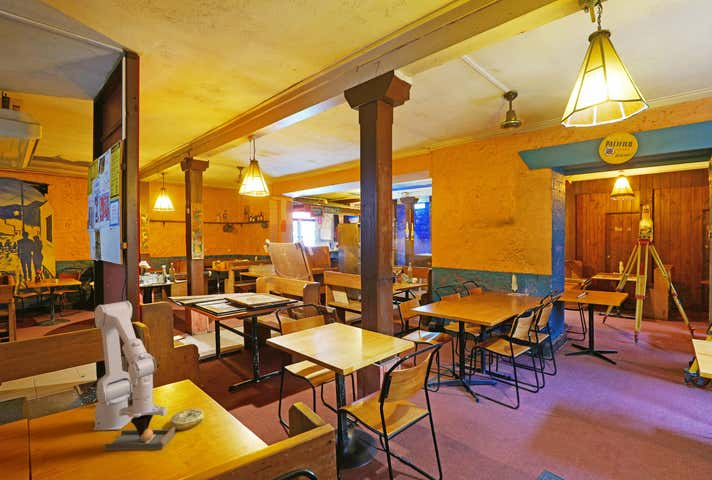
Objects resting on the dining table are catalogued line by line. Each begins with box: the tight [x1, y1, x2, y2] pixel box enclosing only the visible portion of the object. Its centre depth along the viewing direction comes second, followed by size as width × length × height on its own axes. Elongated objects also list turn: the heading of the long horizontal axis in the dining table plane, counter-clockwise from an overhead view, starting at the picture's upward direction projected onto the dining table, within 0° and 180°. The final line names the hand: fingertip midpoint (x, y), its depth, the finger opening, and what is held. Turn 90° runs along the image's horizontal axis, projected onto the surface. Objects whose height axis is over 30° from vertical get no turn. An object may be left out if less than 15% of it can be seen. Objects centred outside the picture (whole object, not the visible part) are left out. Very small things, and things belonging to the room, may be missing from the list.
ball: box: [140, 428, 153, 442], centre depth 114 cm, size 4×4×4 cm
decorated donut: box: [169, 407, 205, 431], centre depth 125 cm, size 10×11×4 cm
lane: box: [104, 426, 176, 451], centre depth 114 cm, size 18×8×3 cm, turn 90°
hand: (143, 436), depth 113 cm, fingers closed, pressing on ball
